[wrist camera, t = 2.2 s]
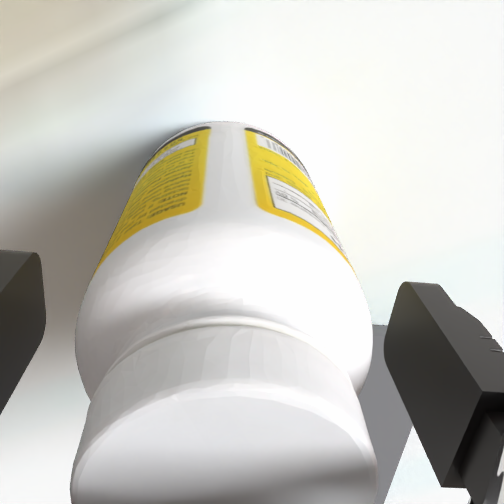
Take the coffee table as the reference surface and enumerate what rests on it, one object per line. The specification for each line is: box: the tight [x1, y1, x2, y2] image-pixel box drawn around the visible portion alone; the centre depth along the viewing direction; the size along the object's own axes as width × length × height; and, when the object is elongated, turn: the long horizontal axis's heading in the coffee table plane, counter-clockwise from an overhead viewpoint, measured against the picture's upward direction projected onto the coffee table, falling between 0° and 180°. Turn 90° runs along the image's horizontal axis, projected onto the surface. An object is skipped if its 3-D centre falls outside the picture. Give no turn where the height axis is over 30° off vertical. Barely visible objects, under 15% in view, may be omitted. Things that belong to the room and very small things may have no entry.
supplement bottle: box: [70, 121, 378, 504], centre depth 10 cm, size 5×5×10 cm
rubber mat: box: [357, 325, 413, 504], centre depth 20 cm, size 15×10×1 cm, turn 174°
